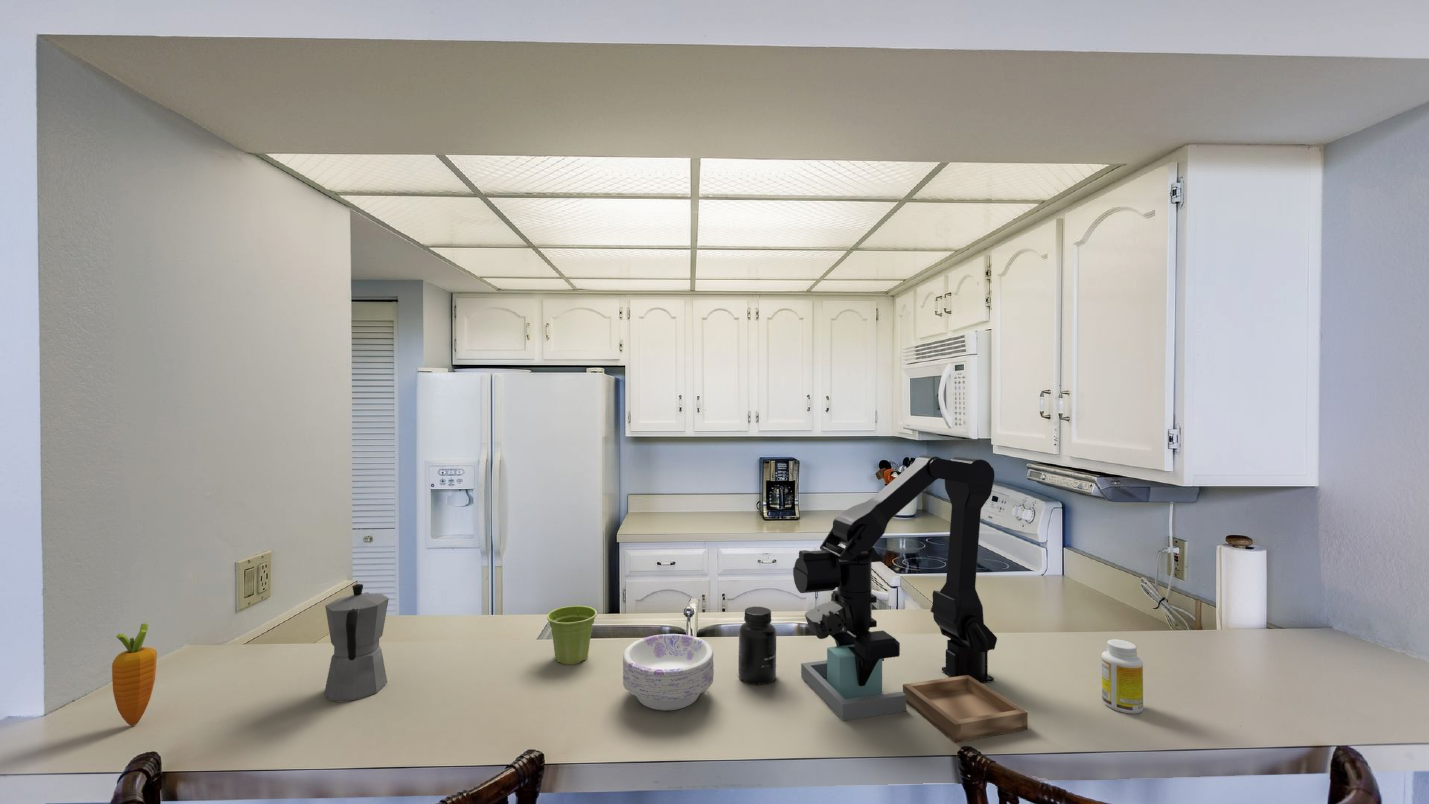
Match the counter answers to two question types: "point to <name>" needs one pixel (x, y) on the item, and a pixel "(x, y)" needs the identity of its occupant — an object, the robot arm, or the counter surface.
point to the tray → (965, 708)
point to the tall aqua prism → (850, 674)
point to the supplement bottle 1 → (757, 647)
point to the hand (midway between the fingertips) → (854, 679)
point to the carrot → (134, 676)
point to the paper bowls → (668, 670)
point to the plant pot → (571, 632)
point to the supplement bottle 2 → (1122, 677)
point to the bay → (851, 707)
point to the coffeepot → (356, 645)
